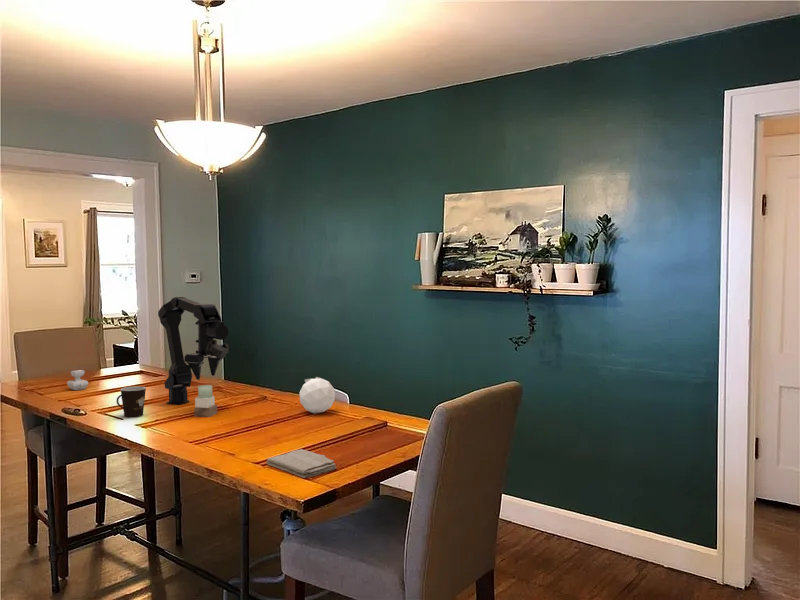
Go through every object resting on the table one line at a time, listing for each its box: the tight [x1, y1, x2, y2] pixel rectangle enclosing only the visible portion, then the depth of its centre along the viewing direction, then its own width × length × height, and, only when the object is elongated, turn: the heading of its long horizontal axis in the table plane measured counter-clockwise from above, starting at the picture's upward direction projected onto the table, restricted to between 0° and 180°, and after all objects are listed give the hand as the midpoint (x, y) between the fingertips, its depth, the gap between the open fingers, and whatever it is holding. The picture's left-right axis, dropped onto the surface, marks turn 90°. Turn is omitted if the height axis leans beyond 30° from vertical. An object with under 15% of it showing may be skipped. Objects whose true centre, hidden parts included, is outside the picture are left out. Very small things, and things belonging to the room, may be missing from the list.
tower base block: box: [193, 404, 218, 418], centre depth 236 cm, size 6×6×4 cm
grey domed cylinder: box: [197, 384, 213, 398], centre depth 235 cm, size 5×5×4 cm
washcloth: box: [266, 448, 337, 479], centre depth 176 cm, size 12×18×3 cm, turn 48°
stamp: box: [66, 369, 89, 391], centre depth 282 cm, size 9×7×8 cm
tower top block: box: [194, 395, 216, 408], centre depth 236 cm, size 5×5×4 cm
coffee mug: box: [116, 386, 147, 418], centre depth 233 cm, size 12×9×10 cm
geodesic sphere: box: [299, 376, 336, 414], centre depth 241 cm, size 14×14×14 cm
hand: (205, 377), depth 243 cm, fingers open, 9 cm apart
